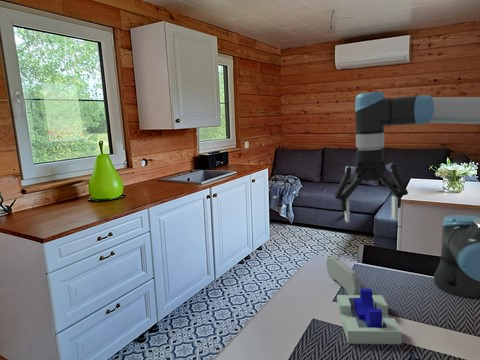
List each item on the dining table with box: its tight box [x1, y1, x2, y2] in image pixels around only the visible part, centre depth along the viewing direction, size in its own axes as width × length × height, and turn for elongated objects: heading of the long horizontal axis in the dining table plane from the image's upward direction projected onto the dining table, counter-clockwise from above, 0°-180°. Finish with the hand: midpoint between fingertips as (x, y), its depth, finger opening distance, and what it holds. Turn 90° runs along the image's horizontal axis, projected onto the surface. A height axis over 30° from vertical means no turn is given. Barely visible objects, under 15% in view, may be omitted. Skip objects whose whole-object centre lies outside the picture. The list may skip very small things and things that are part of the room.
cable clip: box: [355, 288, 382, 328], centre depth 97 cm, size 12×4×6 cm, turn 173°
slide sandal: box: [325, 254, 362, 295], centre depth 118 cm, size 20×2×8 cm, turn 13°
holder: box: [336, 294, 403, 345], centre depth 97 cm, size 13×18×4 cm
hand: (370, 220), depth 104 cm, fingers open, 13 cm apart
